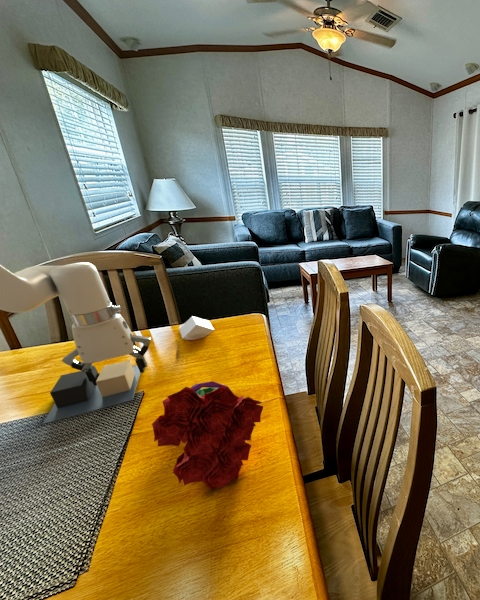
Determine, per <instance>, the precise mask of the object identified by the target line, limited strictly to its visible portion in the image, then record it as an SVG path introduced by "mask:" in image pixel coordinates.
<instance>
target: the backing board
mask: <svg viewBox="0 0 480 600" xmlns="http://www.w3.org/2000/svg"><path fill="white" fill-rule="evenodd" d="M132 367H133V370H134V373H135V376H134V379H133V382H132V386H131V389H130V390H128V391H125V392H121V393H117V394H113V395H109V396H105V397H102V395H101V393H100V391H99V388H98V386H97V385H95V387H94V389H93V392H92V394H91V396H90V398H89V400H88V401H85V402H81V403H77V404H73V405H69V406H65V407H61V408H57V406H56V404H55V403H53V405H52V407H51V408H50V410H49V412H48V413H47V415H46V416H45V418H44V420H43V422H42V424H41V425H43V424H44V425H45V424H48V423H51V422H56V421H60V420H63V419H66V418H70V417H74V416H78V415H82V414H86V413H90V412H93V411H97V410H101V409H104V408H108V407H112V406H115V405H119V404H123V403H126V402H130V401H133V400H134V399H135V398H134V397H135V394H136V391H137V387H138V383H139V380H140V376H141V373H140V371H139V368H138V366H137V365H134V366H133V365H132Z"/></svg>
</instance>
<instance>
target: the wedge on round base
mask: <svg viewBox="0 0 480 600" xmlns="http://www.w3.org/2000/svg"><path fill="white" fill-rule="evenodd" d="M178 329H179V333H180V337H181V339H182V340H186V341H193V340H194V341H195V340H199V339H203V338H205V337H207V336H209V335H210V334H212V332H213V331H215V328H214V327H213V324H212V323H211V322H210V320H209V319H205V318H201V317H198V316H193V315H191V317H189V319H187V320H186V321H185V322H184V323H182V324H181V325H180V326H179V327H178Z"/></svg>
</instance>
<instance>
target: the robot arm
mask: <svg viewBox="0 0 480 600" xmlns="http://www.w3.org/2000/svg"><path fill="white" fill-rule="evenodd" d="M59 296H60V299H61V300H62V302H63V304H64V307H65V308H66V311H67V313H68V315H69V317H70V319H71V321H72V323H73V324H72V325H71V332H72V338H73V342H74V345H75V348H74V349H73V350H72V351H70V352H69V353H68V354H66V355H65V356H63V358H62V359H61V362H62V363H64V364H66V365H68V366H70V367H71V368H72V369H74V370H78V371H82V372H83V373H86V375H87V377H88V379H89V381H90V382H93V384H94V386H95V385H97V384H96V381H97V379H98V377H99V374H100V372H99V371H98V369H97V368H96V366H95V365H93V364H95V363H100V362H104V361H108V360H112V359H116V358H120V357H124V356H128V355H129V356H132V357H134V358H135V359H134V360H135V364H136V366H138V368H139V371H140V374H143V373H145V370H146V368H148V364H147V361H146V359H145V354H146V353H147V351H148V350H149V349H150V348H149V347H150V344H151V342H152V337H148V336H144V335H143V336H142V335H135V334H133V332H132V330H131V328H130V326H129V325H128V323H127V322H126V320H125V318H124V317H123V316H122V314H120V313H119V312H122V307H121V306H120V305H117V306H116V305H114V304H113V302H111V300H110V298H109V295H108V293H107V290H106V288H105V285H104V283H103V281H102V278H101V276H100V273H99V271H98V269H97V267H96V265H94V264H92V263H90V262H74V263H68V264H64V265H33V266H28V267H25V268H22V269H21V270H18V271H15V272H12V271H10V270H9V269H7V268H6V267H4V266H3V265H2V264H0V310H1V311H4V312H8V313H14V314H21V313H28V312H31V311H33V310H35V309H37V308H39V307H41V306H42V305H44V304H45V303H47V302H48V301H50V300H52V299H55V298H57V297H59ZM137 343H140V344H143V345H142V347H141V348H139V347H137ZM78 356H79V358H80V360H81V361H80V360H76V359H75V358H76V357H78Z"/></svg>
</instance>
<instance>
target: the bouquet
mask: <svg viewBox="0 0 480 600" xmlns="http://www.w3.org/2000/svg"><path fill="white" fill-rule="evenodd" d="M166 397H167V398H165V399H163V400H162V402H161V403H162V406H163V414H161V415H158V417H157V418H155V420H154V421H153V422H152V423H151V426H152V431H153V442H154V443H155V442H157V447H168V446H173V447H180V445H181V443H183V444H185V445H184V447H183V451H184V452H182V453H181V454H180V455H178V457H177V458H176V462H175V464H174V467H173V468H172V469H173V470H172V474H173V475H174V476H175V477H177V481H178V483H179V484H181V482H182V483H183V486H187V485H190V484H195V483H200V482H201V483H203V484H204V485H205V486H207V487H208V489H209V490H210V491H212V490H213V488H214V489H215V488H217V489H221V488H222V487H224V486H226V485H228V484H230V483H231V482H232V480H234V481H235V480H236V478H239V476H240V475H239V474H240V471H241V468H242V466H244V462H243V461H249V457H250V452H251V448H252V444H250V443H248V442H251V441H252V435H253V431H254V428H255V427H256V425H257V423H261V416H262V413H263V409H264V406H263V405H260V404H262V402H263V401H259V400H256V399H253V398H252V397H250V396H247V397H245V395H242V396H240V397H239V396H238V395H236V394H235V393H234V392H233V391H232V390H231V388H230V387H229V386H228V385H225V384H221V383H219V382H217V381H213V380H212V381H206V382H201V383H195V384H193V385H192V386H190V387H188V386H185V387H183V388H182V389H181V390H179V391H177V392H174V393H171V394H169V395H167V396H166Z"/></svg>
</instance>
